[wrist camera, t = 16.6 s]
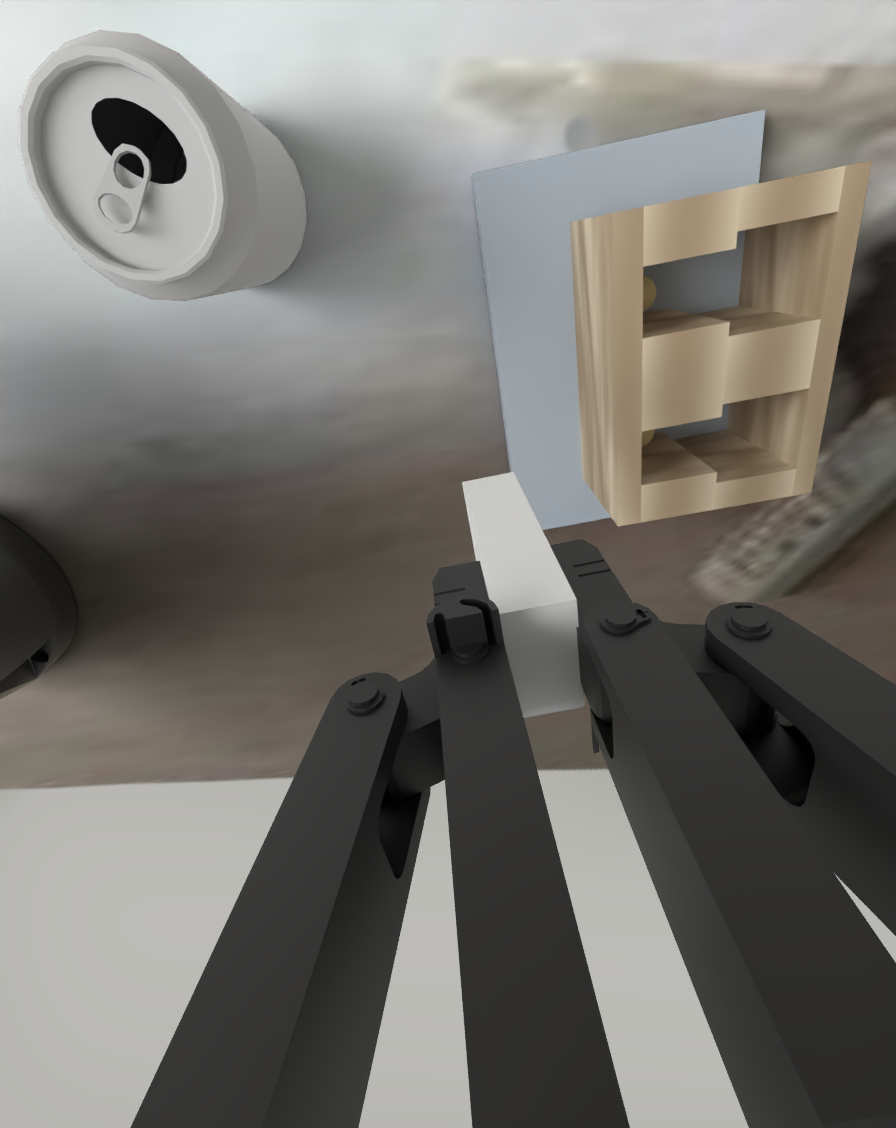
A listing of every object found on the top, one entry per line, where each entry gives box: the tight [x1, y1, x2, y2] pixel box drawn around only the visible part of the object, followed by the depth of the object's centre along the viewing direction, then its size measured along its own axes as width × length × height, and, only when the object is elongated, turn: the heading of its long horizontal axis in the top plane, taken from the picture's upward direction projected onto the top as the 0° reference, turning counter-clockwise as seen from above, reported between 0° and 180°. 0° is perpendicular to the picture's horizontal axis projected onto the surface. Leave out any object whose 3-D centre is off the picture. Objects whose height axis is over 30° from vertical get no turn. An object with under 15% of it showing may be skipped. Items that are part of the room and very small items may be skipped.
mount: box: [471, 110, 765, 530], centre depth 30 cm, size 14×20×4 cm
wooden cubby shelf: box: [570, 161, 872, 526], centre depth 27 cm, size 10×14×7 cm
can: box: [19, 30, 307, 301], centre depth 22 cm, size 8×8×12 cm
